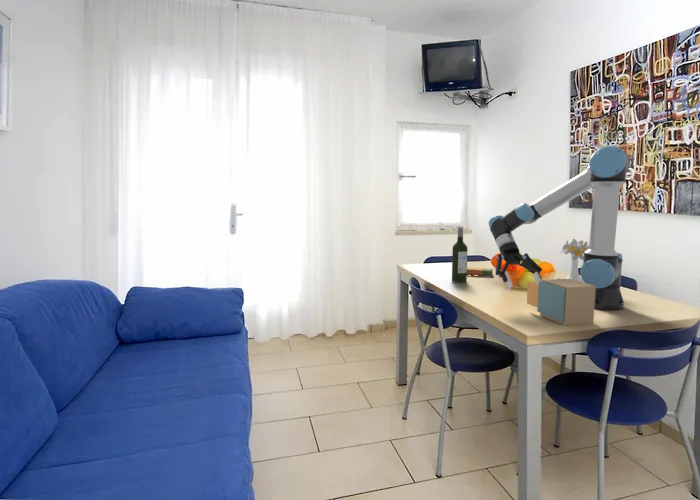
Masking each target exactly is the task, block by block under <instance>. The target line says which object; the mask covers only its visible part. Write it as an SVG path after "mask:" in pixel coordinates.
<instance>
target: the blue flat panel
mask: <svg viewBox="0 0 700 500" xmlns="http://www.w3.org/2000/svg"><path fill="white" fill-rule="evenodd" d="M526 291H527V292H526V304H527V305H530V306H533V307H535V308H537V309H536V310H537V311H536V312H538V313H539V314H540V313H542V314H545V315H547V316H549V317H552V318H554V319H556V320H559V321H561V322H563V320H564V303H565V289H564V288H561V287H558V286H555V285H551V284H548V283H545V282H542V280H541V281H539V284H536V282H533V281H527V290H526Z"/></svg>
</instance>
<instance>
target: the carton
mask: <svg viewBox="0 0 700 500" xmlns="http://www.w3.org/2000/svg"><path fill="white" fill-rule="evenodd" d="M493 270H494V269H493V268H483V267H482V268H481V267H480V268H479V267H467V275H478V276H490V277H489V278H493V276H494V275H493V274H494V271H493ZM478 276H477V277H478Z"/></svg>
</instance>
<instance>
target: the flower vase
mask: <svg viewBox="0 0 700 500" xmlns="http://www.w3.org/2000/svg"><path fill="white" fill-rule="evenodd" d="M588 248H589V241H585V242H584V240H582V239H581V240H579V241H577V240H576V239H575V238H572V241H571V242H570V243H569V240H568V239H567V240H566V243H565V244H563V246H562V249H561V252H560V254H562V253H563V252H564V253H563V255H568V254H570V256H571V257H570V258H571V260H570V262H571V263H570V271H569V273H568V276H567V277H565V278H564V279H572V280H576V281H580V282H583V283H585V282H584V281H583V280H582V278H581V275H580V274H579V273H580V272H579V259H580V260H582V261H583V260H584V252H585V251H586V250H587V249H588Z"/></svg>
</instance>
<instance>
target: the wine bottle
mask: <svg viewBox="0 0 700 500" xmlns="http://www.w3.org/2000/svg"><path fill="white" fill-rule="evenodd" d="M451 256H452V257H451V258H452V259H451V282H452V281H455V282H465V283H467V281H468V280H467V279H468V278H467V277H468V276H467V268H468V245H467V244H466V243H465V242H464V227H463V226H458V227H457V241H456V242H455V243H454V244H453V246H452V253H451ZM455 282H454V283H455Z"/></svg>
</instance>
